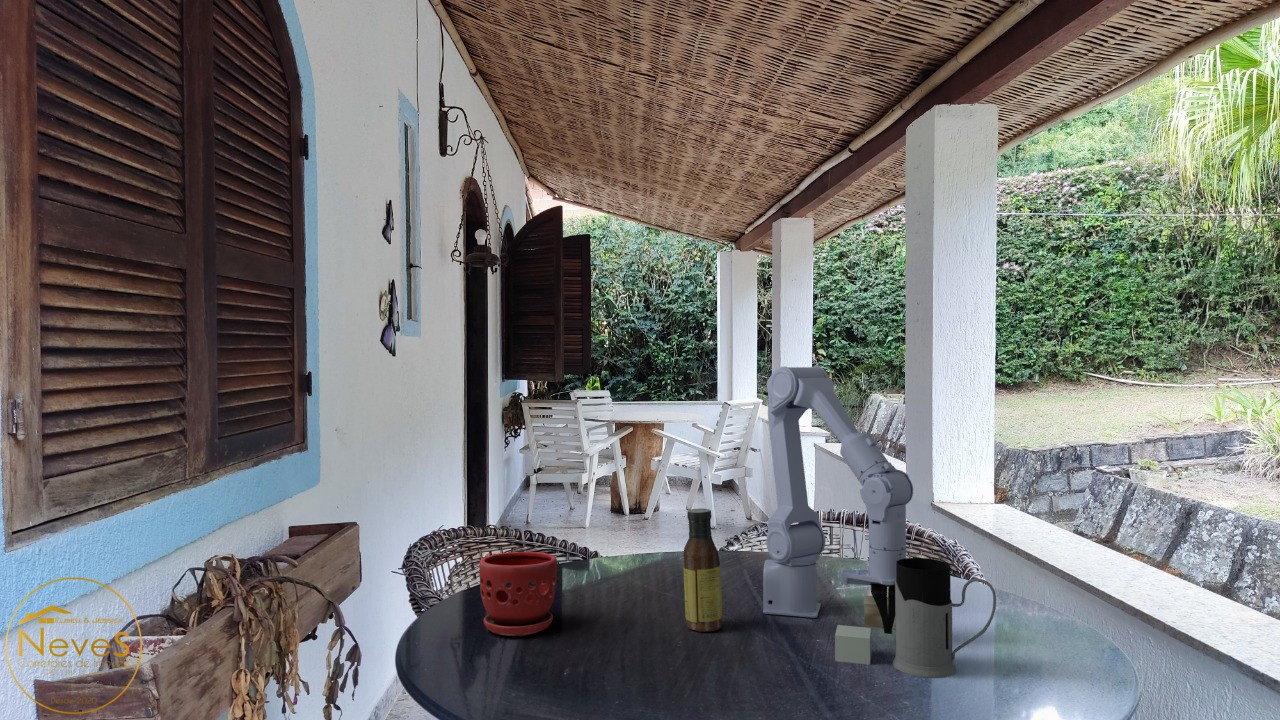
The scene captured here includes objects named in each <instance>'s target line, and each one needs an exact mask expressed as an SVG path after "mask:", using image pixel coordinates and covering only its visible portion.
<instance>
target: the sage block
mask: <svg viewBox="0 0 1280 720" xmlns="http://www.w3.org/2000/svg"><path fill="white" fill-rule="evenodd" d="M834 653H835V654H834V657H835V658H834V659H835V660H834V661H835V662H839V663H850V664H861V665H869V666H870V665H871V659H872V627H865V626H863V627H862V626H852V625H842V624H837V625H836V630H835V634H834Z"/></svg>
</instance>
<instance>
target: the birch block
mask: <svg viewBox="0 0 1280 720" xmlns="http://www.w3.org/2000/svg"><path fill="white" fill-rule="evenodd" d="M863 605H864V607H863V608H864V609H863V610H864V611H863V612H864V614H863V615H864V616H863V617H864V627H866V628H879V629H884V627H883V622H882V619H881V615H880V612H879V610H878V607H877V605H876V602H875V600H874V598H873V596H872V595H864V603H863ZM887 610H888V596H887ZM895 622H896V618H895V619H894V623H893V628H892V630H896V628H895Z"/></svg>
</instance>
